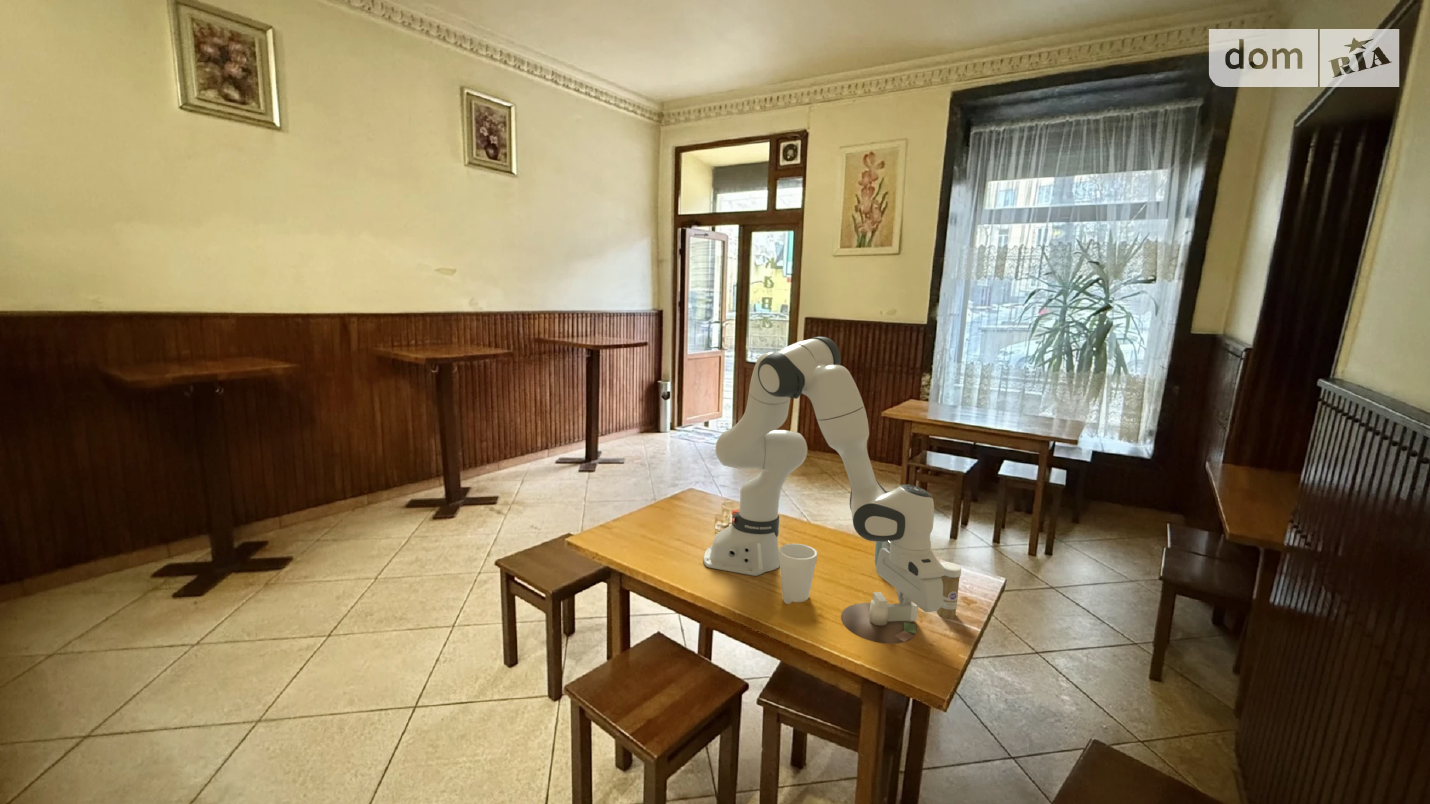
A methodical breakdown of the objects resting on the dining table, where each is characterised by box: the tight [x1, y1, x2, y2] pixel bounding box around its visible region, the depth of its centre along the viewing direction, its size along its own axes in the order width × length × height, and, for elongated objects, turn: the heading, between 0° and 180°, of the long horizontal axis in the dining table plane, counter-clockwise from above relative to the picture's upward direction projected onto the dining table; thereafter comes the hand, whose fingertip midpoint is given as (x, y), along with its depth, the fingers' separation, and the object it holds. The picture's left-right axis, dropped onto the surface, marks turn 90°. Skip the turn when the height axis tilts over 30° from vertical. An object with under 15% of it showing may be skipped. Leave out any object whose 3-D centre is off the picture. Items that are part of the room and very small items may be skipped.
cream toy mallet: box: [869, 591, 919, 626], centre depth 130 cm, size 11×4×6 cm, turn 96°
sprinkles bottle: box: [936, 561, 962, 619], centre depth 134 cm, size 5×5×13 cm
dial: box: [840, 602, 918, 645], centre depth 131 cm, size 17×17×1 cm
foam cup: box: [779, 543, 818, 605], centre depth 141 cm, size 10×9×13 cm
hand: (903, 609), depth 132 cm, fingers closed, pressing on cream toy mallet
